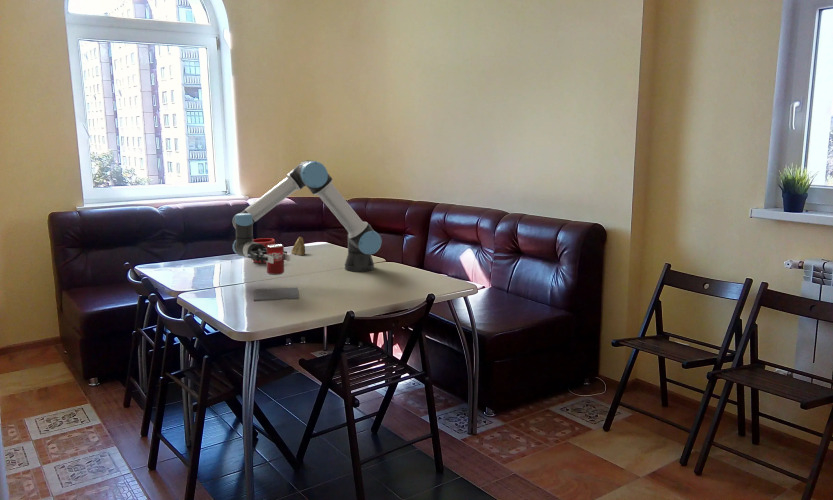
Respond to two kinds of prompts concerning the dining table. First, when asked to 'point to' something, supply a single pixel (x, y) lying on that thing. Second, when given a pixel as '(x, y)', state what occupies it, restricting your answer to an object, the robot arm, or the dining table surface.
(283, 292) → the mat
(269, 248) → the soda can
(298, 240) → the rock
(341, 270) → the dining table surface
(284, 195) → the robot arm
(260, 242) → the plant pot
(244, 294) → the dining table surface
